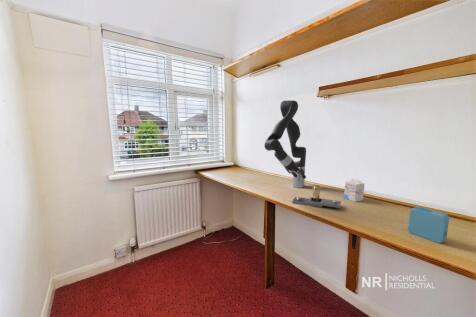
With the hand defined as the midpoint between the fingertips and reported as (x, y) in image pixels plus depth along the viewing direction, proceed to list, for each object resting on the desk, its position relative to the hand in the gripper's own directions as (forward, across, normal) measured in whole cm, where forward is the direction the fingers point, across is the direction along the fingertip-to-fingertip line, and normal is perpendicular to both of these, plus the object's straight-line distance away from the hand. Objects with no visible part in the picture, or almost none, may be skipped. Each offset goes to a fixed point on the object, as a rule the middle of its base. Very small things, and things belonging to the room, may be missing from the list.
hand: (300, 177), depth 143 cm
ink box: (+32, -18, -10) cm, 38 cm away
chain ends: (+11, -14, +12) cm, 21 cm away
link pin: (+11, -14, +12) cm, 21 cm away
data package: (+25, -64, +6) cm, 69 cm away
